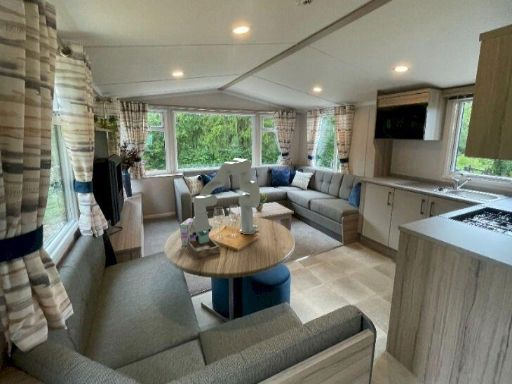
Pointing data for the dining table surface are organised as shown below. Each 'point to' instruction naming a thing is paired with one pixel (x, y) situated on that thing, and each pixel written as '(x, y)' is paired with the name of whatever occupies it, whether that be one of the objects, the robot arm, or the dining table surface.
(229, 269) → the dining table surface
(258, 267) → the dining table surface
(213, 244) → the big crate
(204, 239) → the small crate
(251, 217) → the robot arm
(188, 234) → the candy box
